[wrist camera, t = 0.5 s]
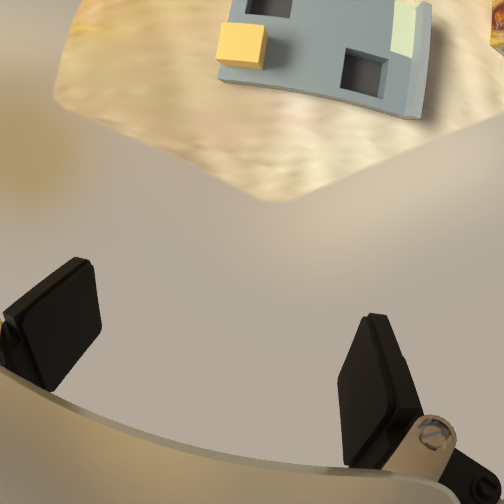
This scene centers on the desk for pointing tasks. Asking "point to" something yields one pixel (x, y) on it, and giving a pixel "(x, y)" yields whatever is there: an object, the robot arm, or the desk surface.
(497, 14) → the candy box
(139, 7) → the desk surface
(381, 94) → the board
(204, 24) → the desk surface
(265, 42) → the block
